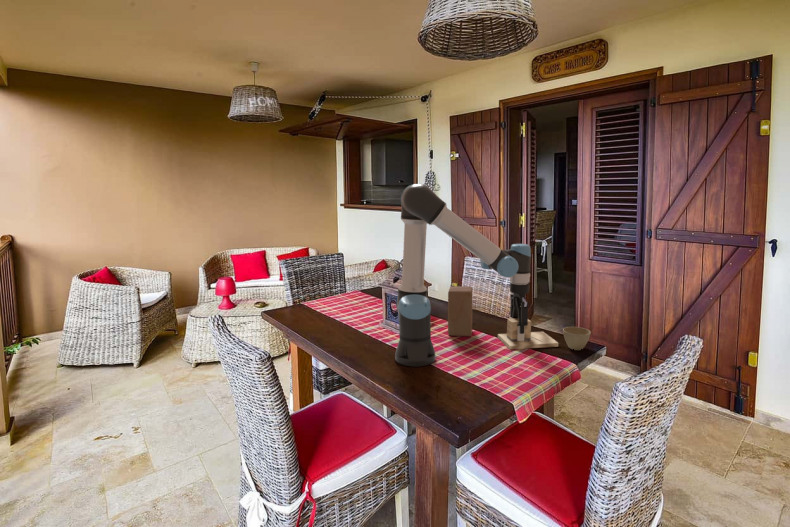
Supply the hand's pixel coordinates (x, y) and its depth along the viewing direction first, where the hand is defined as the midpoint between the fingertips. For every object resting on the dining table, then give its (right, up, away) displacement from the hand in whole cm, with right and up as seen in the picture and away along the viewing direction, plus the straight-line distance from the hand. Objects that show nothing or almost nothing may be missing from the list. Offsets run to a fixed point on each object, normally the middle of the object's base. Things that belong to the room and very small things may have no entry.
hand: (517, 338), depth 181 cm
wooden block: (-22, 0, +13) cm, 25 cm away
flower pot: (+21, -3, -7) cm, 22 cm away
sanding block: (0, 0, 0) cm, 0 cm away
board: (+4, -2, +1) cm, 4 cm away
